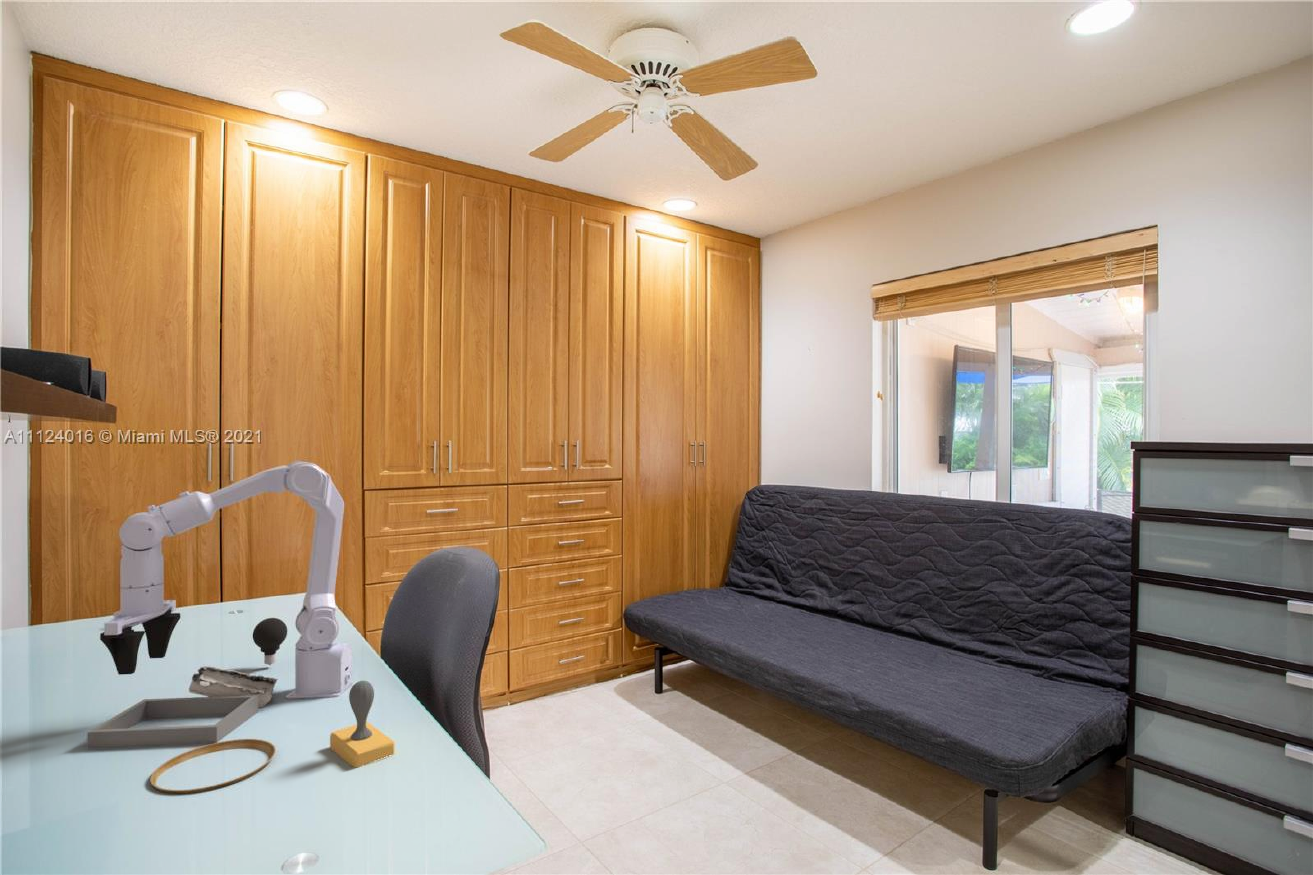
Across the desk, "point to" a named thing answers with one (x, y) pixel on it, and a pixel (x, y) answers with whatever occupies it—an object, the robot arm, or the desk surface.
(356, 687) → the rubber stamp
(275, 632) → the light bulb
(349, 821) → the desk surface
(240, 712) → the box
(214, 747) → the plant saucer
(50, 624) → the desk surface
